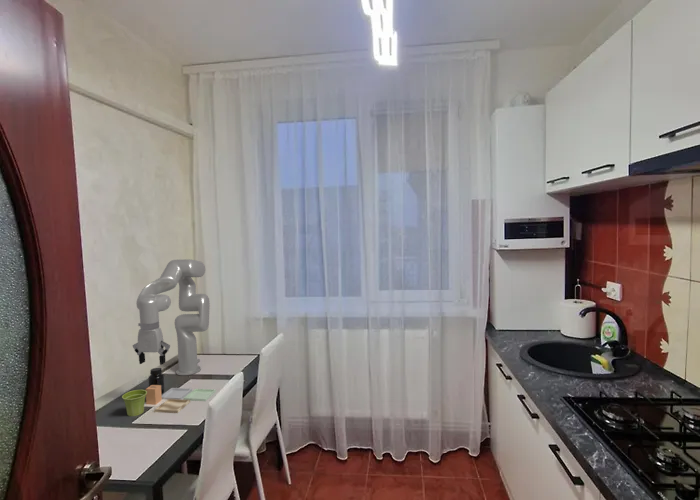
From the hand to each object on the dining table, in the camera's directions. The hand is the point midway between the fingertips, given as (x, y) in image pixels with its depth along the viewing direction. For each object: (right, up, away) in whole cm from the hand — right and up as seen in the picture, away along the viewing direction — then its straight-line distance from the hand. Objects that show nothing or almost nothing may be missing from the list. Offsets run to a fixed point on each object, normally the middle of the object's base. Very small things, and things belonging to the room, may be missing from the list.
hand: (152, 363), depth 183 cm
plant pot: (-3, -19, -9) cm, 21 cm away
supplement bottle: (-3, -18, +11) cm, 22 cm away
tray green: (+19, -18, +7) cm, 27 cm away
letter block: (0, -18, +1) cm, 18 cm away
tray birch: (+11, -19, -4) cm, 22 cm away
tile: (0, -18, +1) cm, 18 cm away
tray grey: (+7, -18, +9) cm, 21 cm away
